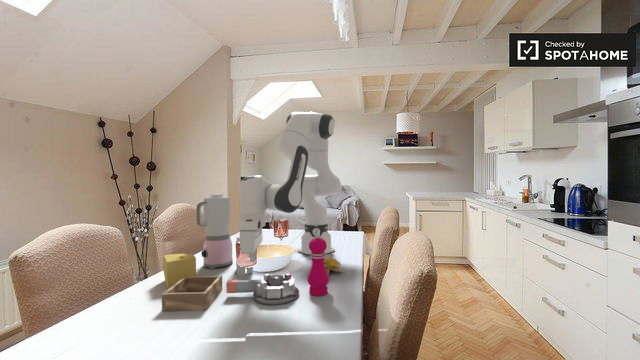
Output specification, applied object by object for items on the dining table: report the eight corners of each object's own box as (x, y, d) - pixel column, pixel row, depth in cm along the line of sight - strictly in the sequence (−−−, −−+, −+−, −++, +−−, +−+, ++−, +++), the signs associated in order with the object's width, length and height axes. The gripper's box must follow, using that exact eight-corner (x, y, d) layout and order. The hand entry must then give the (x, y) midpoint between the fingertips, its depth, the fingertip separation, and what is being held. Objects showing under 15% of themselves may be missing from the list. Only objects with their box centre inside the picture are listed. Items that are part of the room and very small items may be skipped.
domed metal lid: (258, 287, 102) (257, 270, 102) (300, 286, 102) (299, 269, 102) (248, 306, 87) (248, 286, 87) (297, 304, 87) (297, 285, 87)
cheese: (192, 275, 115) (191, 251, 115) (197, 284, 106) (197, 257, 106) (163, 281, 109) (162, 255, 109) (165, 290, 100) (165, 262, 100)
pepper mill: (327, 297, 92) (326, 236, 92) (305, 296, 94) (304, 235, 94) (330, 289, 99) (329, 231, 99) (310, 287, 101) (309, 231, 101)
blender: (223, 260, 136) (222, 193, 136) (238, 265, 128) (237, 193, 128) (190, 268, 124) (189, 195, 124) (204, 274, 116) (203, 195, 116)
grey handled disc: (295, 283, 101) (295, 271, 101) (293, 297, 89) (293, 284, 89) (232, 285, 100) (232, 273, 100) (221, 299, 88) (221, 286, 88)
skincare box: (236, 270, 121) (235, 233, 121) (252, 268, 123) (251, 232, 123) (237, 276, 113) (236, 237, 113) (254, 274, 115) (253, 236, 115)
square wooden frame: (184, 290, 99) (184, 276, 99) (222, 290, 100) (222, 275, 100) (162, 311, 84) (161, 294, 84) (206, 310, 85) (206, 293, 85)
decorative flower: (344, 279, 109) (344, 253, 109) (315, 279, 109) (314, 253, 109) (342, 266, 124) (342, 243, 124) (316, 267, 124) (316, 244, 124)
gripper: (249, 217, 110) (250, 253, 110) (236, 226, 90) (236, 270, 90) (266, 217, 110) (266, 253, 110) (256, 225, 90) (257, 269, 90)
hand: (253, 261), depth 100 cm, fingers closed
